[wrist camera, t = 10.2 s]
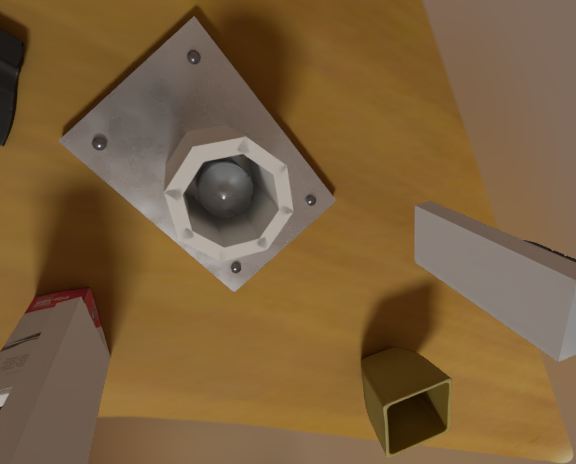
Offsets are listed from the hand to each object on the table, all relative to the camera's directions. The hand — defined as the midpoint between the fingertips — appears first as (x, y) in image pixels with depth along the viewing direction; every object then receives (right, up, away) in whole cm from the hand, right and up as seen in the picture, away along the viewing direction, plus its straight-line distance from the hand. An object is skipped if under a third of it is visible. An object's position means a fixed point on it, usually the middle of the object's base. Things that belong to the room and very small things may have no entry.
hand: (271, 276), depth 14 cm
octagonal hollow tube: (-6, +7, +17) cm, 20 cm away
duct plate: (-6, +7, +18) cm, 21 cm away
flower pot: (+13, -16, +34) cm, 40 cm away
